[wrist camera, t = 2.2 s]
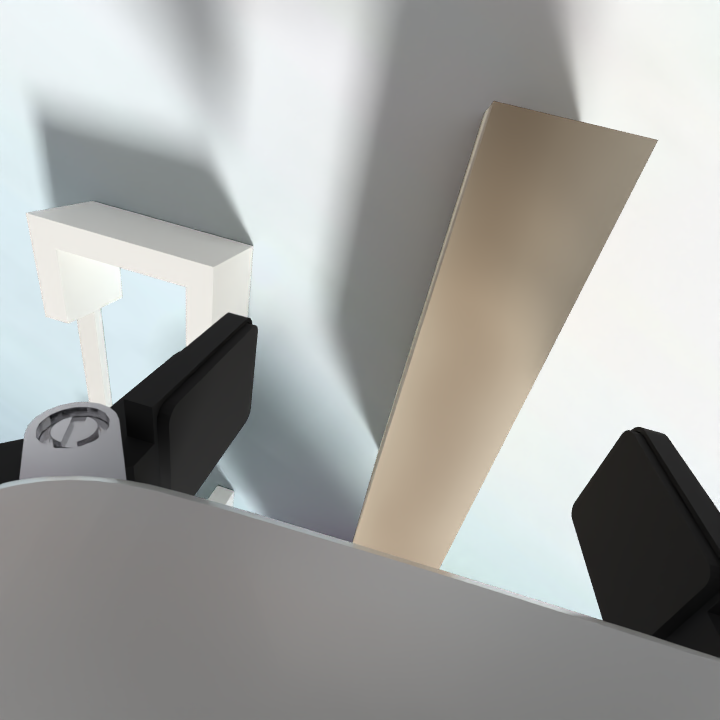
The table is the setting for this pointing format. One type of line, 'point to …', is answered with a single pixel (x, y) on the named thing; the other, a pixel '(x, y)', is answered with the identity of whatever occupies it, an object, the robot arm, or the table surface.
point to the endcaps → (138, 254)
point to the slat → (493, 315)
